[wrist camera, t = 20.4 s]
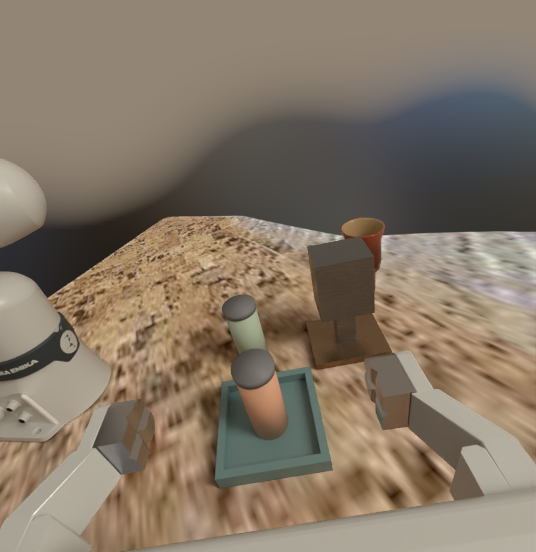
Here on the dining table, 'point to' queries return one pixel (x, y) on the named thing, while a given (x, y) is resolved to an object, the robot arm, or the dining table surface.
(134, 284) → the dining table surface
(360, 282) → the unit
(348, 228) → the mug
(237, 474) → the tray
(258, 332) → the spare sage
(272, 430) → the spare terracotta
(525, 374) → the dining table surface
